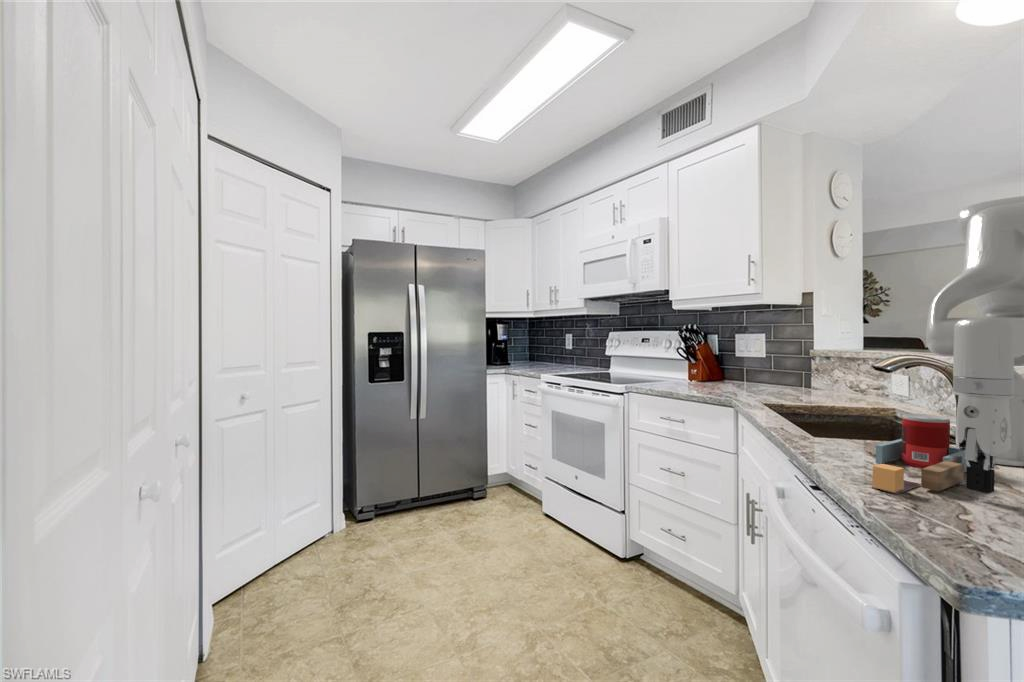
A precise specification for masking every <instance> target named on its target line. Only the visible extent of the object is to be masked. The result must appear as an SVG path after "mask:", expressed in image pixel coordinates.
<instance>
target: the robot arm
mask: <svg viewBox="0 0 1024 682" xmlns="http://www.w3.org/2000/svg"><path fill="white" fill-rule="evenodd" d="M956 222H957V223H956V224H957V227H958V230H959V233H960V236H961V237H962V239H963V241H964V242H965V245H964V257H963V258H964V259H963V263H962V264H963V265H962V267H963V268H962V273H960V274H959V275H958V276H956V277H954V278H953V279H952V280H951V281H949V282H948V283H947V284H946V285H944V286H943V287H942V288H941V289H940V290H939V291H938V293H937V294H935V296H934V297H933V300H932V301H931V303H930V306H929V309H928V314H927V322H926V328H925V329H926V331H925V343H926V346H927V349H928V350H929V351H930V352H931V353H932V354H934V355H937V356H941V357H953V358H952V359H953V360H952V364H953V365H952V367H953V368H952V394H953V395H955V396H958V399H957V400H958V401H957V407H956V408H957V409H956V419H955V446H956V448H958V449H959V450H960V451H965V460H966V466H967V472H965V473H966V474H965V475H966V477H965V478H966V480H965V481H966V486H965V488H966V489H968V490H970V491H976V492H979V493H985V494H992V493H993V492H994V491H995V472H996V471H995V466H996V465H1001V466H1002V465H1003V466H1012V467H1024V377H1023V376H1022V375H1021V374H1020V373H1019V372H1017V371H1016V370H1015V367H1024V320H1023V319H1024V195H1020V196H1011V197H1005V198H999V199H993V200H988V201H982V202H977V203H974V204H971V205H968V206H966V207H964V208H962V209H961V210H960V211H959V212H958V214H957V219H956ZM972 299H974V300H975V309H976V311H977V313H978V314H979V315H980V316H981V317H949V314H950V312H952V310H953V309H955V308H956V307H958V306H959V305H960V304H963V303H965V302H967V301H969V300H970V301H971V300H972ZM948 317H949V318H948Z"/></svg>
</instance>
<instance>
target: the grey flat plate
mask: <svg viewBox="0 0 1024 682" xmlns="http://www.w3.org/2000/svg"><path fill="white" fill-rule="evenodd" d="M920 485H921V483H919V482H913V481H909V480H905V479H904V487H903V490H900V491H898V492H891V491H887V490H883V489H880V491H882V490H883V492H886V491H887V492H888V493H890V492H891V493H890V494H894V493H895V494H894V495H899V494H902V492H903V493H904V492H907V491H910V490H913V489H915V487H916V488H918V487H921V486H920ZM917 486H918V487H917ZM871 488H872V489H874V488H875V487H873V485H872V486H871ZM912 488H913V489H912ZM878 489H879V488H875V489H874V490H878ZM887 492H886V493H887Z"/></svg>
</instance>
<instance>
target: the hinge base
mask: <svg viewBox="0 0 1024 682" xmlns="http://www.w3.org/2000/svg"><path fill="white" fill-rule="evenodd" d="M963 485H966V480H964V481H962V482H960V483H958V484H955V485H954V486H963Z"/></svg>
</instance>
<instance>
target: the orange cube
mask: <svg viewBox="0 0 1024 682" xmlns="http://www.w3.org/2000/svg"><path fill="white" fill-rule="evenodd" d="M904 472H905V468H904V467H901V466H895V465H890V464H886V463H883V464H881V463H877V464H876V465H873V466H872V486H873V487H875V488H879V489H883V490H887V491H891V492H898V491H900V490H903V487H904V480H905V479H904V477H905V474H904Z"/></svg>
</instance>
